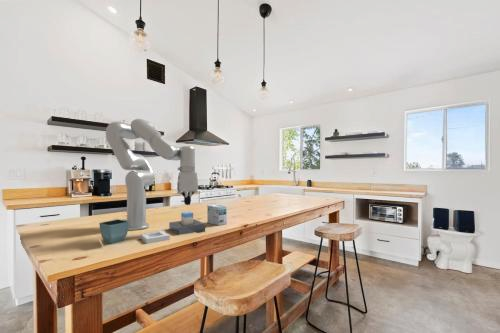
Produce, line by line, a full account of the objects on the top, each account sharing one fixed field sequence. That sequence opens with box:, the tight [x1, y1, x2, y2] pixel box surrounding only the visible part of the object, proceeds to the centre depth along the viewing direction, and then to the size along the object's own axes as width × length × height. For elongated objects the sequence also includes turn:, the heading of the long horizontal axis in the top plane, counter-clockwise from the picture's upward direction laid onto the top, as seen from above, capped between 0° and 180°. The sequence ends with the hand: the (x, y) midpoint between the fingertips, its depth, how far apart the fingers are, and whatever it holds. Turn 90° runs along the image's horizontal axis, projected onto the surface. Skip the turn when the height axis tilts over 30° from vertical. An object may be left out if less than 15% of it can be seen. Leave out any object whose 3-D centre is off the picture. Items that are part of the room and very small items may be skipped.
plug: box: [180, 211, 194, 225], centre depth 128 cm, size 5×5×9 cm
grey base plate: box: [140, 230, 171, 245], centre depth 112 cm, size 10×10×2 cm
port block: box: [168, 218, 206, 236], centre depth 129 cm, size 14×14×4 cm
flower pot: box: [98, 219, 129, 245], centre depth 108 cm, size 9×9×9 cm
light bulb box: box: [206, 203, 228, 226], centre depth 146 cm, size 11×7×11 cm, turn 49°
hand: (187, 204), depth 129 cm, fingers closed
